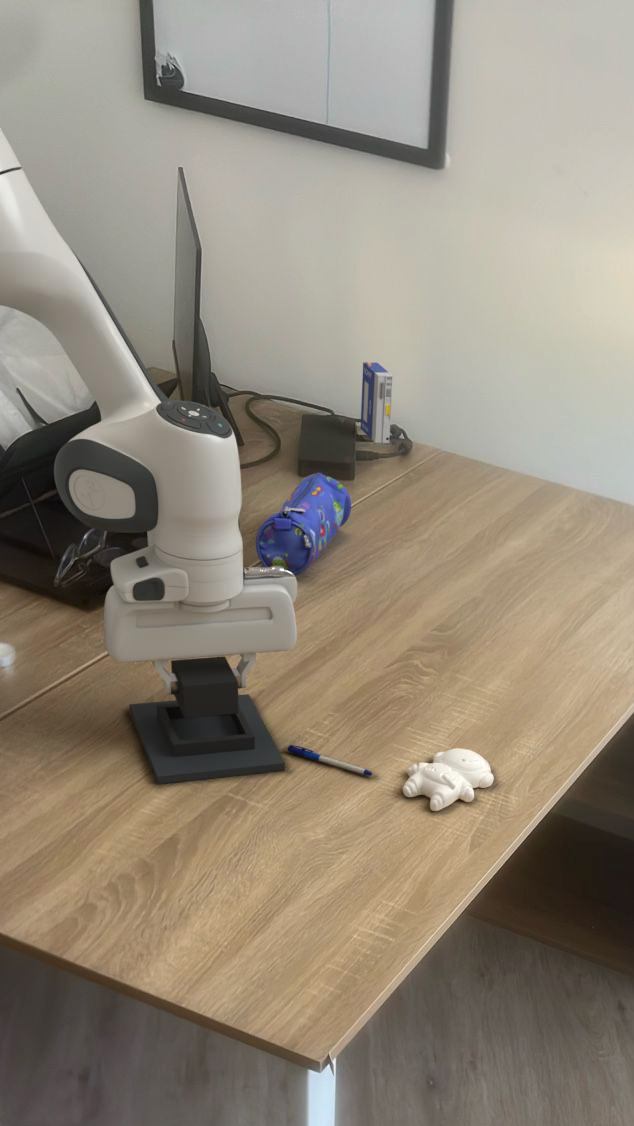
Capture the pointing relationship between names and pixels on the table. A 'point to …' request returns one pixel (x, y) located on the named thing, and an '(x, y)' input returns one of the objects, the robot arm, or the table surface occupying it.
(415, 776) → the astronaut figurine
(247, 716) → the socket base plate
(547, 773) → the table surface
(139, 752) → the table surface
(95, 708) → the table surface
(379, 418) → the walkman
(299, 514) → the pencil case
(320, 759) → the ballpoint pen
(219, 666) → the black box
